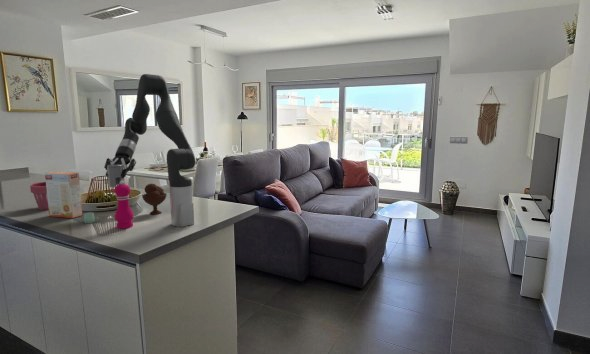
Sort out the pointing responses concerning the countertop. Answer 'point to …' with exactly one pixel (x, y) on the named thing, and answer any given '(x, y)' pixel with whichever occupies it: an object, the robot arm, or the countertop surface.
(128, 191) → the pepper mill
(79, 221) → the countertop surface
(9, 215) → the countertop surface
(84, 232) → the countertop surface
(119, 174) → the charcoal cup
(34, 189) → the plant pot
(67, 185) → the cracker box
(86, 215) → the mint green cube
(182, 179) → the robot arm
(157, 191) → the ice cream bowl
